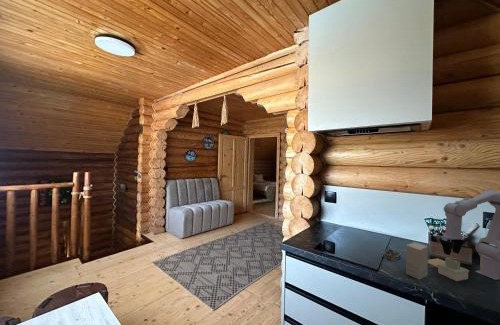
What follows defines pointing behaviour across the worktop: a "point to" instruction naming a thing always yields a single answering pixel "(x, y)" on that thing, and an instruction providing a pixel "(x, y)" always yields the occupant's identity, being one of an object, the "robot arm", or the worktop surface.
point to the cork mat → (435, 262)
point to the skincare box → (416, 260)
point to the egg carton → (391, 255)
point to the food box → (453, 276)
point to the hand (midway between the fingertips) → (451, 253)
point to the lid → (452, 266)
